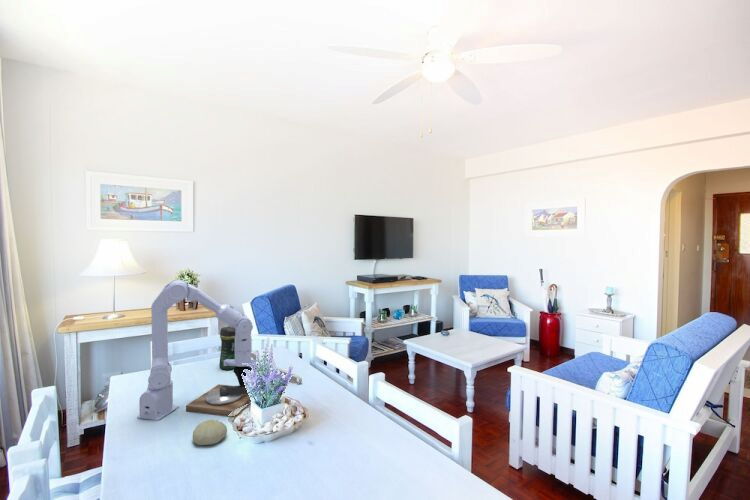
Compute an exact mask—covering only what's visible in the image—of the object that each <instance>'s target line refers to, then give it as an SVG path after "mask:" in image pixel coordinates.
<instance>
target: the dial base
mask: <svg viewBox="0 0 750 500" xmlns="http://www.w3.org/2000/svg"><path fill="white" fill-rule="evenodd" d="M222 386H231V385H228V384H219V383H218V384H217V385H215V386H214V387H212V388H211V389H208V390H207V391H206V392H204V393H203V394H202V395H200V396H198V397H197V398H196V399H194V400H192V401H191V402H189V403H187V404H185V412H187V413H188V412H189V413H195V414H196V413H197V414H206V415H213V416H221V417H229V416H228V415H229V414H230V413H231V412H232V411H234V410H235V409H237V408H240V407H242V406H244V405H246V404H249V403H250V402H251V400H250V397H249V395H248V394H242V397H241V398H240V399H239V400H238V401H236V402H233V403H230V404H225V405H211V404H208V403H207V402H206V395H207V394H208V393H210V392H212V391H214V390H217V389H220V387H222Z"/></svg>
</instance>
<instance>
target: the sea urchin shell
mask: <svg viewBox="0 0 750 500" xmlns="http://www.w3.org/2000/svg"><path fill="white" fill-rule="evenodd" d="M227 434H228V428H227V426H226V424H225V423H224V422H223V421H219V420H218V419H208V420H204V421H202V422H200V423H199V424H197V426H195V428H194V430H193V431H192V441H193V442H194V444H195V445H198V446H210V445H211V446H212V445H215V444H218V443H219V442H220V441H222V440H224V438H225V437H226V435H227Z"/></svg>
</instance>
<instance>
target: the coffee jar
mask: <svg viewBox="0 0 750 500" xmlns="http://www.w3.org/2000/svg"><path fill="white" fill-rule="evenodd" d="M219 331H220V333H219V337H220V338H219V339H220V341H221V344H220V345H221V346H220V357H219V368H220V369H222V370H227V371H229V370H230V371H231V370H233V369H235V366H224V360H226V359H235V331H236V329H235V328H234V327H230V326H229V325H228V326H223V327H221V328H220V330H219Z"/></svg>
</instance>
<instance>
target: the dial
mask: <svg viewBox="0 0 750 500" xmlns="http://www.w3.org/2000/svg"><path fill="white" fill-rule="evenodd" d="M242 394H248V393H247V390H246V388H245V385H230V386H222V387H220V389H217V390H214V391H212V392H210V393H208V394H207V395H206V402H207V403H208V404H211V405H225V404H230V403H233V402H236V401H238V400H239V399H240V398H241V397H242Z"/></svg>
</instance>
